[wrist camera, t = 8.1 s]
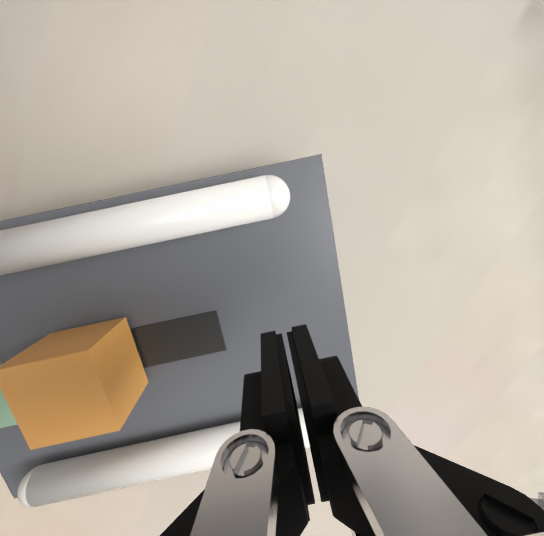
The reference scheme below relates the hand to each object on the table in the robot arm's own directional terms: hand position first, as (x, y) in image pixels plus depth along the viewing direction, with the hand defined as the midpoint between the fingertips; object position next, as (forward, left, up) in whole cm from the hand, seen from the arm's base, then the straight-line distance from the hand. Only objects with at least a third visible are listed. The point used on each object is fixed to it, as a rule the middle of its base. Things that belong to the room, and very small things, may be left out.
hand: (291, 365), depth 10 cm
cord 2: (+7, +7, -6) cm, 12 cm away
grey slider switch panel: (+7, +1, -12) cm, 14 cm away
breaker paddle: (+10, +1, -5) cm, 11 cm away
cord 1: (+7, -6, -6) cm, 11 cm away
